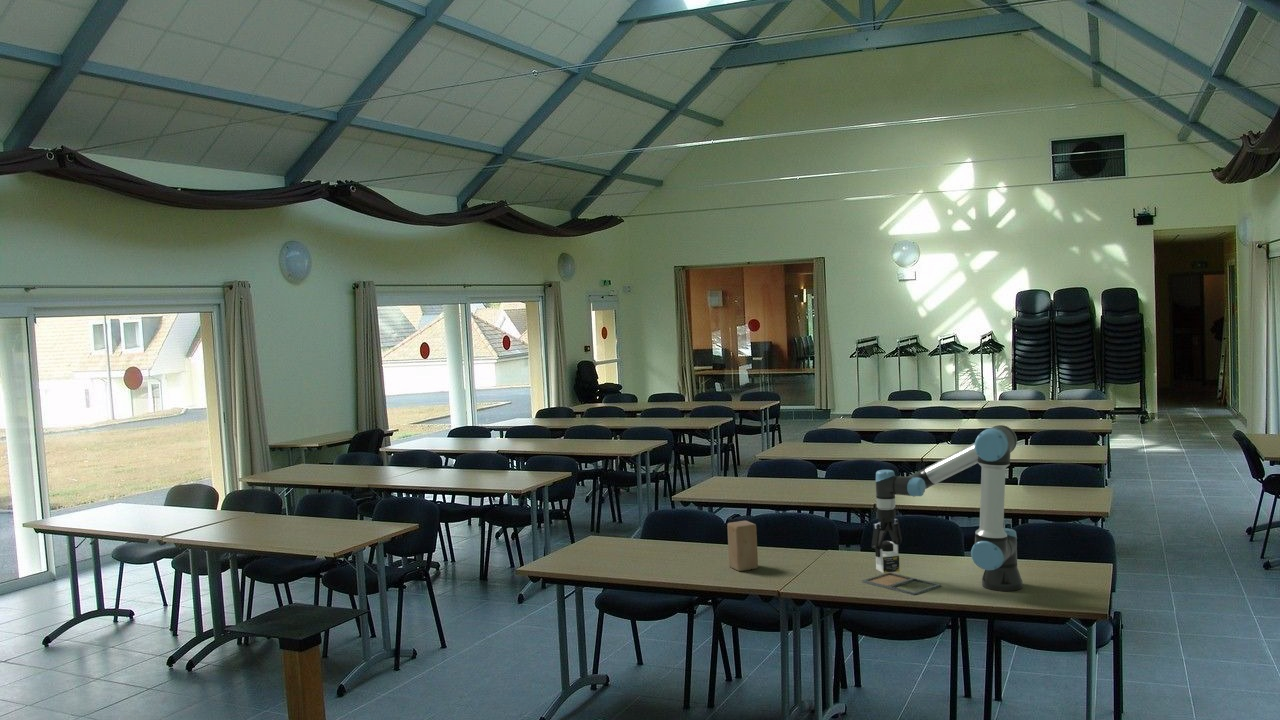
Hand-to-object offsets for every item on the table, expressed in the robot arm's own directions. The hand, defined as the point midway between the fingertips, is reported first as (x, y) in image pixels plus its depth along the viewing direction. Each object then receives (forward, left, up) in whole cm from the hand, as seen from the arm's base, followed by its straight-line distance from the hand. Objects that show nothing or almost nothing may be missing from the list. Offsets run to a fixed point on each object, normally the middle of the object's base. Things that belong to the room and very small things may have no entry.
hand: (887, 562), depth 399 cm
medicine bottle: (0, 0, -4) cm, 4 cm away
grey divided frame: (-7, 0, -8) cm, 10 cm away
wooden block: (+58, +27, -8) cm, 64 cm away
